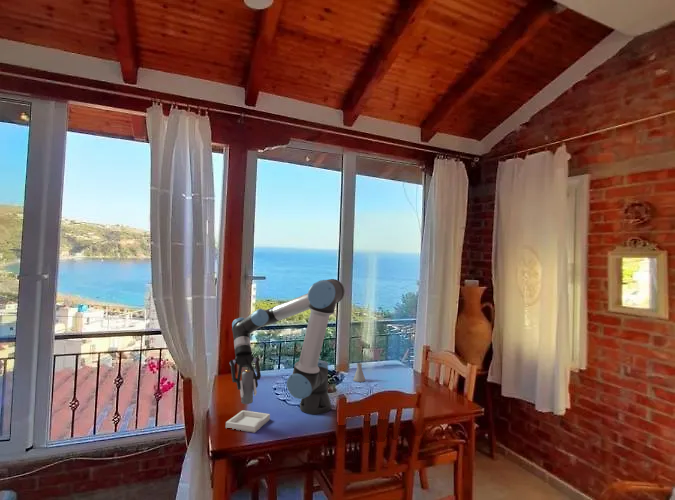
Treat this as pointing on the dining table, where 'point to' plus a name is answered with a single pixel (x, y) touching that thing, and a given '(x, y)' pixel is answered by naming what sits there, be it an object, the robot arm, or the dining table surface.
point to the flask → (359, 374)
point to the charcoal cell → (247, 387)
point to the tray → (248, 421)
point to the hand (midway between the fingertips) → (248, 395)
